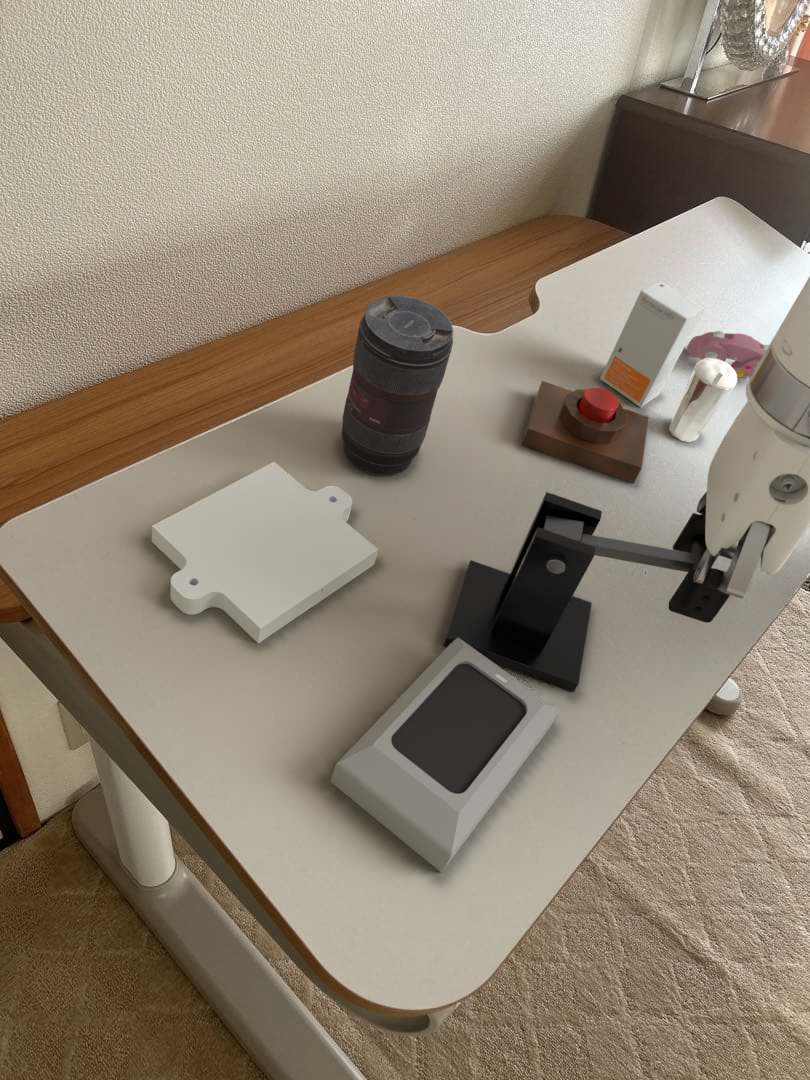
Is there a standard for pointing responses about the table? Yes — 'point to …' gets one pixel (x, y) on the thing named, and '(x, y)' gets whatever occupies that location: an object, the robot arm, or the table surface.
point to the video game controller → (729, 350)
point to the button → (598, 404)
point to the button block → (586, 433)
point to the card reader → (445, 751)
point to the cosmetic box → (651, 342)
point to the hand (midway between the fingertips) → (690, 583)
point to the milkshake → (702, 398)
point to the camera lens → (394, 382)
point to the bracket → (532, 601)
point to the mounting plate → (262, 550)
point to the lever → (631, 547)
